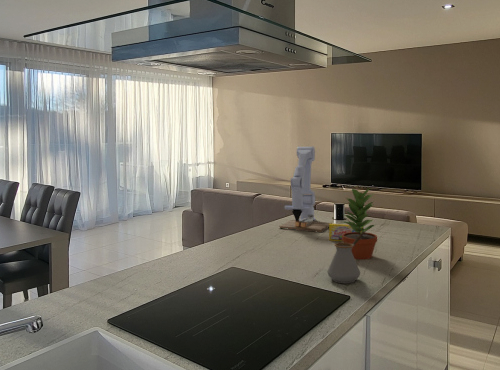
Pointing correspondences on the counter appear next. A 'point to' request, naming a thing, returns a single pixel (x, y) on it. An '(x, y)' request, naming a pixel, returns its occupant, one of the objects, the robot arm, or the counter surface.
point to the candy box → (338, 231)
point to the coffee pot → (344, 263)
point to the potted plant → (360, 227)
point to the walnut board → (312, 227)
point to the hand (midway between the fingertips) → (297, 223)
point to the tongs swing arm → (298, 223)
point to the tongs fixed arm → (307, 221)
